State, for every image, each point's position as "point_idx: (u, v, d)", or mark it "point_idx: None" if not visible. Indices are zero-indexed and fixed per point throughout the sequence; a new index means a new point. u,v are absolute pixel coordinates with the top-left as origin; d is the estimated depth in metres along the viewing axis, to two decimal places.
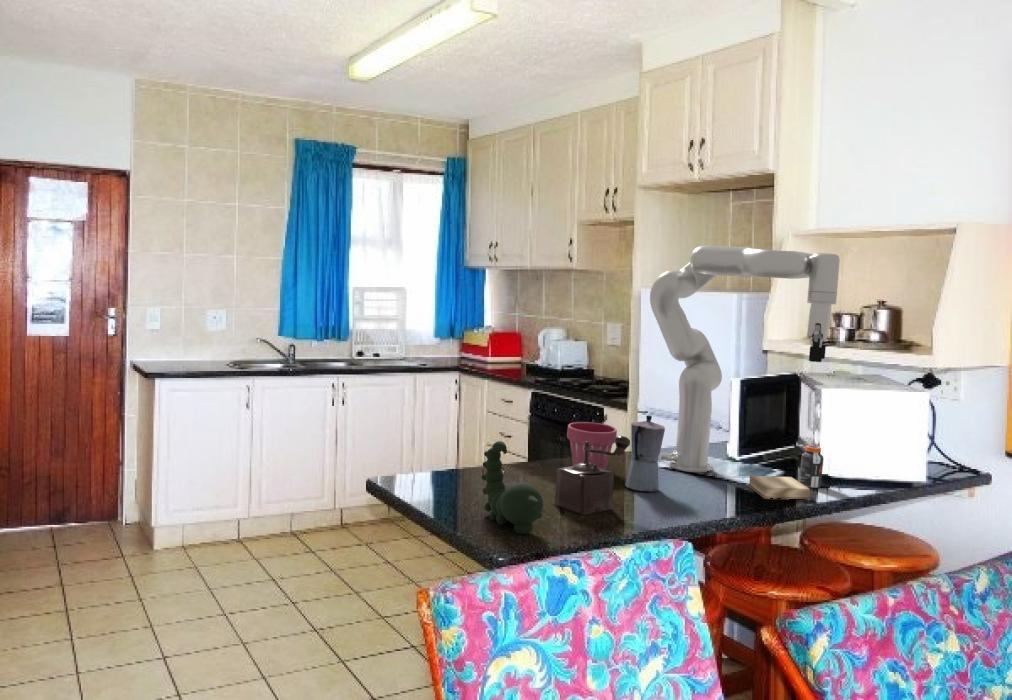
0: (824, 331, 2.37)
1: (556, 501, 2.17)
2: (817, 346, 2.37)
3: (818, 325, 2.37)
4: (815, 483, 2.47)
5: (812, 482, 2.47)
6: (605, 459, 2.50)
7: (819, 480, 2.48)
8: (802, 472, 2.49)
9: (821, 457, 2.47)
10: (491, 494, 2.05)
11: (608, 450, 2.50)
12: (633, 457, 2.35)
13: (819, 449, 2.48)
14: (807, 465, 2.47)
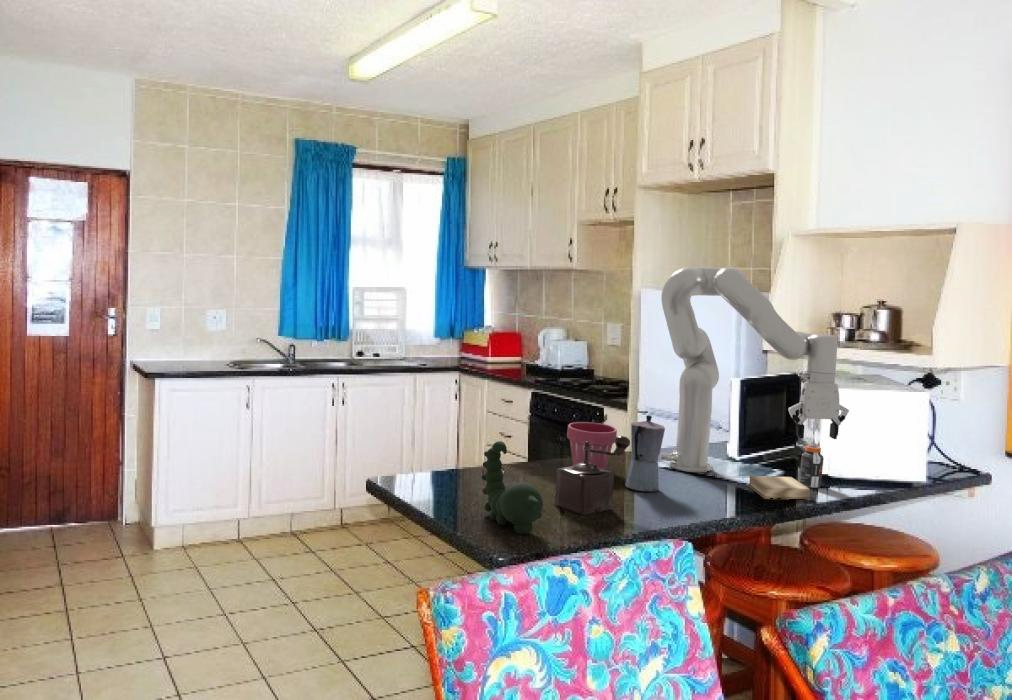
0: None
1: (556, 501, 2.17)
2: None
3: None
4: (815, 483, 2.47)
5: (812, 482, 2.47)
6: (605, 459, 2.50)
7: (819, 480, 2.48)
8: (802, 472, 2.49)
9: (821, 457, 2.47)
10: (491, 494, 2.05)
11: (608, 450, 2.50)
12: (633, 457, 2.35)
13: (819, 449, 2.48)
14: (807, 465, 2.47)
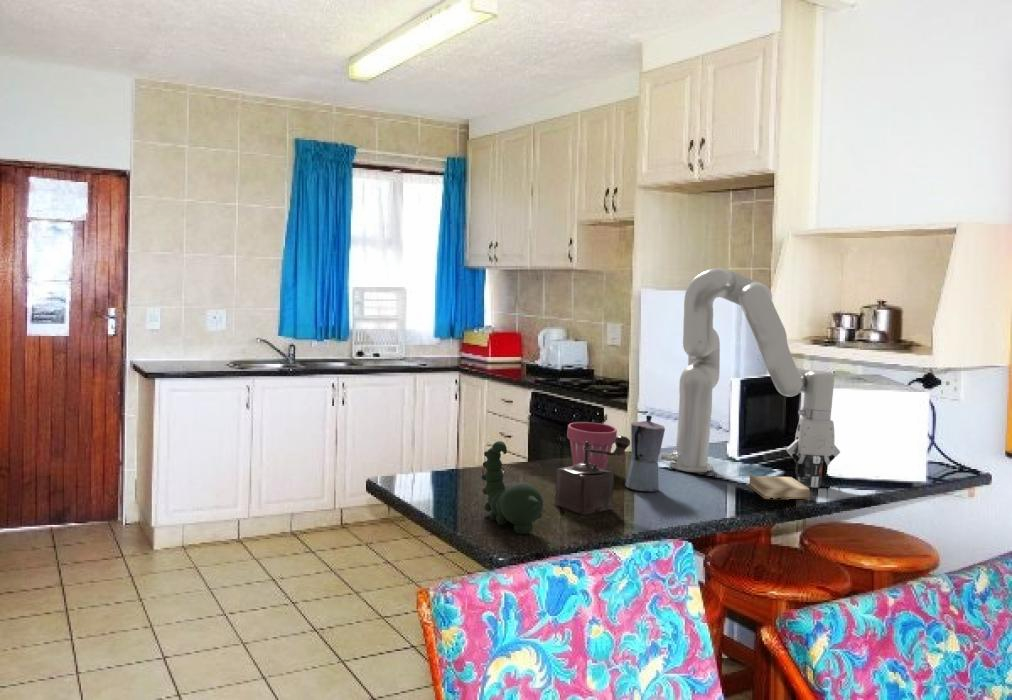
0: None
1: (556, 501, 2.17)
2: None
3: None
4: (815, 483, 2.47)
5: (812, 482, 2.47)
6: (605, 459, 2.50)
7: (819, 480, 2.48)
8: None
9: (821, 457, 2.47)
10: (491, 494, 2.05)
11: (608, 450, 2.50)
12: (633, 457, 2.35)
13: None
14: (807, 465, 2.47)
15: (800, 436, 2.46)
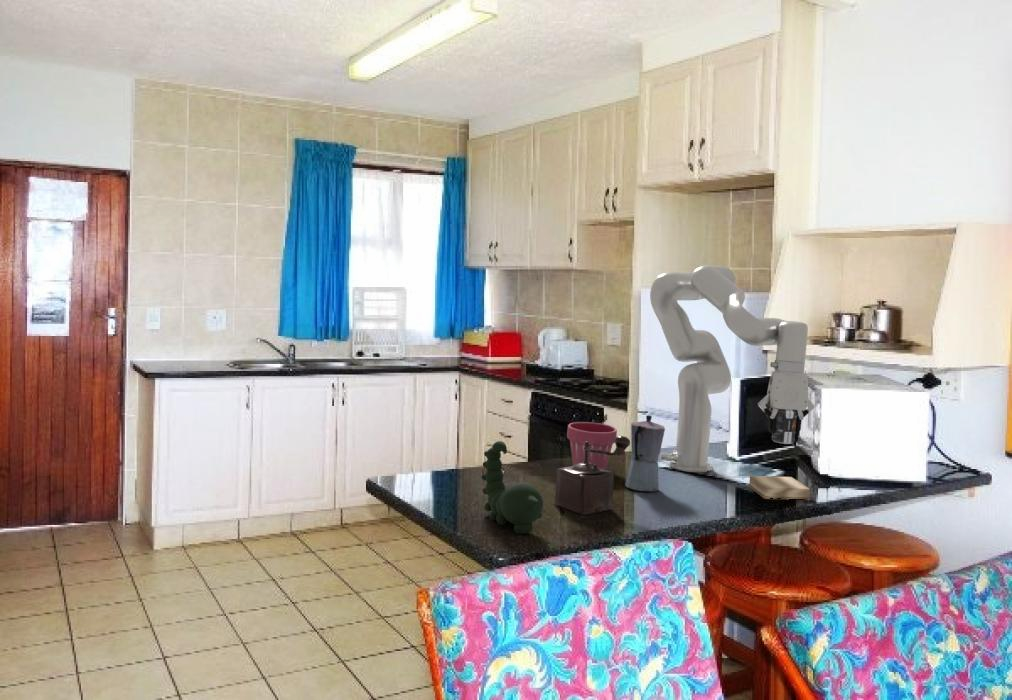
0: None
1: (556, 501, 2.17)
2: None
3: None
4: (788, 439, 2.35)
5: (784, 438, 2.35)
6: (605, 459, 2.50)
7: (792, 436, 2.36)
8: None
9: (794, 412, 2.35)
10: (491, 494, 2.05)
11: (608, 450, 2.50)
12: (633, 457, 2.35)
13: None
14: (779, 420, 2.36)
15: (772, 389, 2.35)
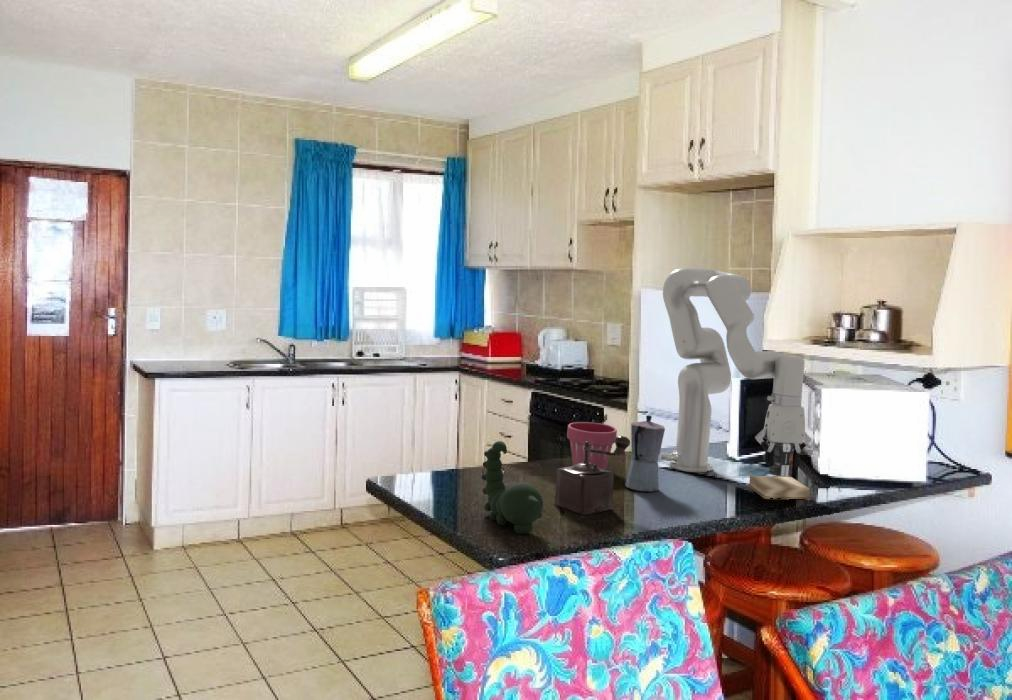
0: None
1: (556, 501, 2.17)
2: None
3: None
4: (785, 472, 2.36)
5: (782, 471, 2.36)
6: (605, 459, 2.50)
7: (789, 469, 2.37)
8: None
9: (791, 445, 2.36)
10: (491, 494, 2.05)
11: (608, 450, 2.50)
12: (633, 457, 2.35)
13: None
14: (776, 453, 2.37)
15: (769, 423, 2.36)
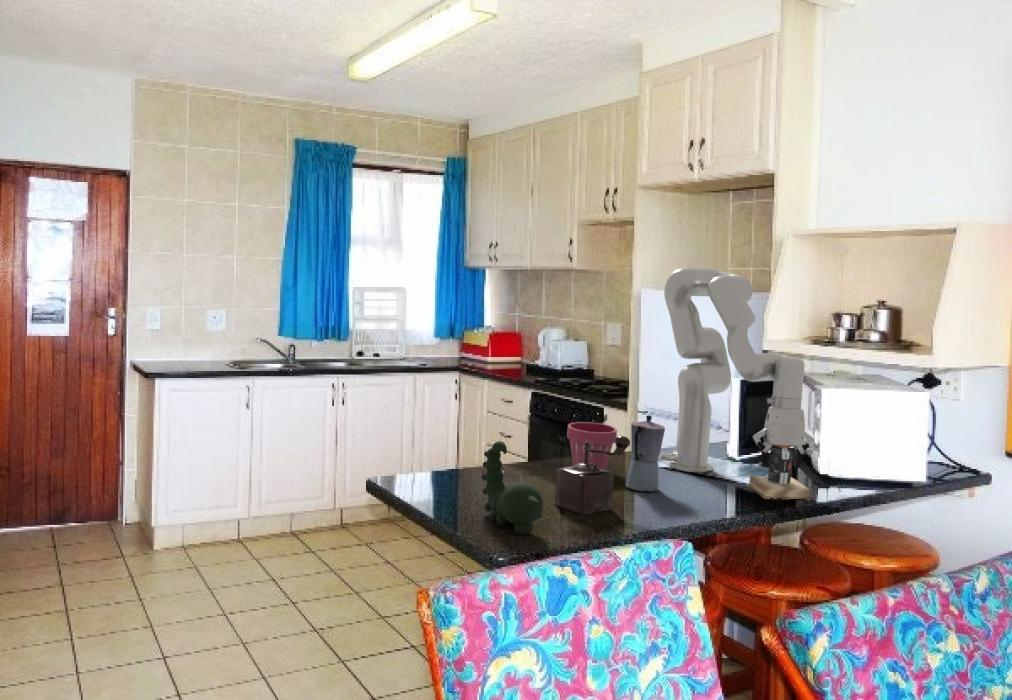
0: None
1: (556, 501, 2.17)
2: None
3: None
4: (784, 480, 2.37)
5: (780, 478, 2.37)
6: (605, 459, 2.50)
7: (788, 476, 2.37)
8: (770, 468, 2.39)
9: (790, 452, 2.37)
10: (491, 494, 2.05)
11: (608, 450, 2.50)
12: (633, 457, 2.35)
13: None
14: (775, 461, 2.37)
15: (769, 425, 2.36)
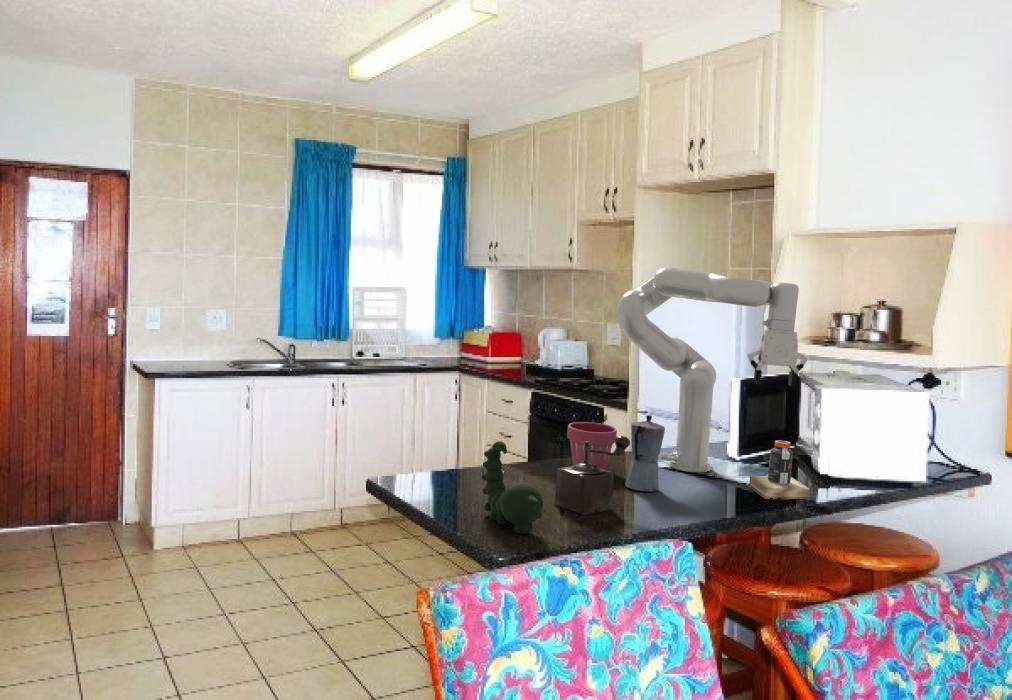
0: None
1: (556, 501, 2.17)
2: None
3: None
4: (784, 480, 2.37)
5: (780, 478, 2.37)
6: (605, 459, 2.50)
7: (788, 476, 2.37)
8: (770, 468, 2.39)
9: (790, 452, 2.37)
10: (491, 494, 2.05)
11: (608, 450, 2.50)
12: (633, 457, 2.35)
13: (788, 444, 2.37)
14: (775, 461, 2.37)
15: (763, 346, 2.50)
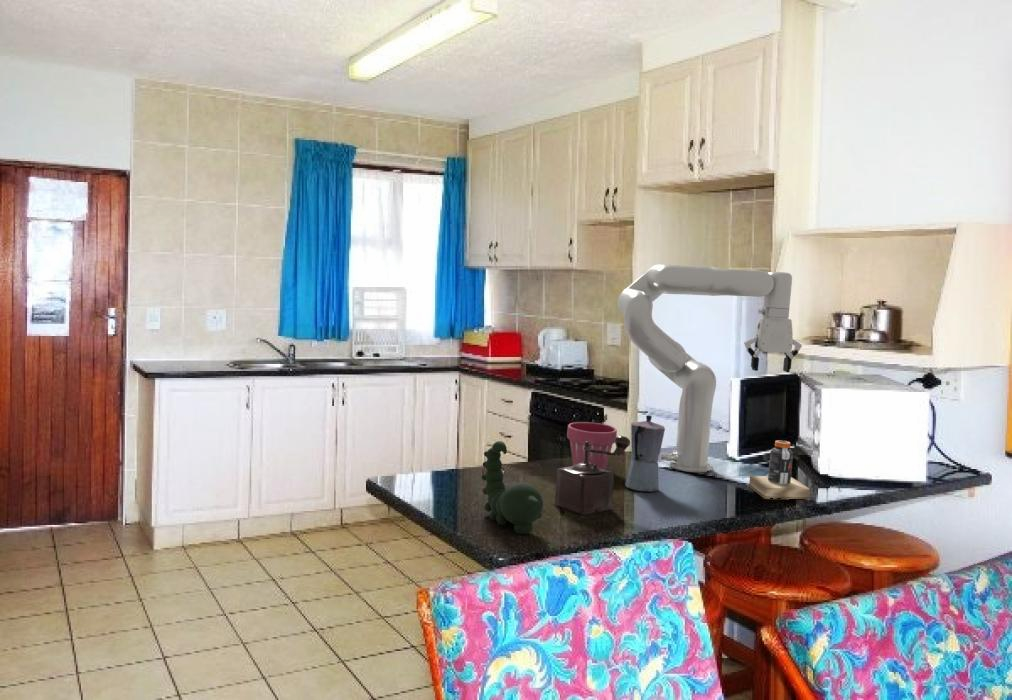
0: None
1: (556, 501, 2.17)
2: None
3: None
4: (784, 480, 2.37)
5: (780, 478, 2.37)
6: (605, 459, 2.50)
7: (788, 476, 2.37)
8: (771, 468, 2.39)
9: (790, 452, 2.37)
10: (491, 494, 2.05)
11: (608, 450, 2.50)
12: (633, 457, 2.35)
13: (788, 444, 2.37)
14: (776, 461, 2.37)
15: (760, 333, 2.58)
